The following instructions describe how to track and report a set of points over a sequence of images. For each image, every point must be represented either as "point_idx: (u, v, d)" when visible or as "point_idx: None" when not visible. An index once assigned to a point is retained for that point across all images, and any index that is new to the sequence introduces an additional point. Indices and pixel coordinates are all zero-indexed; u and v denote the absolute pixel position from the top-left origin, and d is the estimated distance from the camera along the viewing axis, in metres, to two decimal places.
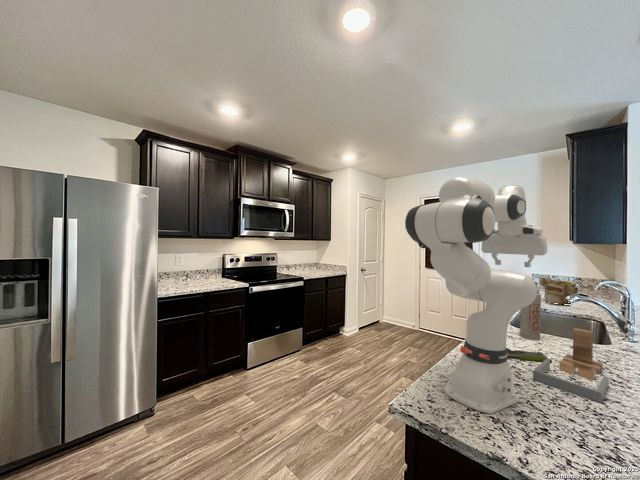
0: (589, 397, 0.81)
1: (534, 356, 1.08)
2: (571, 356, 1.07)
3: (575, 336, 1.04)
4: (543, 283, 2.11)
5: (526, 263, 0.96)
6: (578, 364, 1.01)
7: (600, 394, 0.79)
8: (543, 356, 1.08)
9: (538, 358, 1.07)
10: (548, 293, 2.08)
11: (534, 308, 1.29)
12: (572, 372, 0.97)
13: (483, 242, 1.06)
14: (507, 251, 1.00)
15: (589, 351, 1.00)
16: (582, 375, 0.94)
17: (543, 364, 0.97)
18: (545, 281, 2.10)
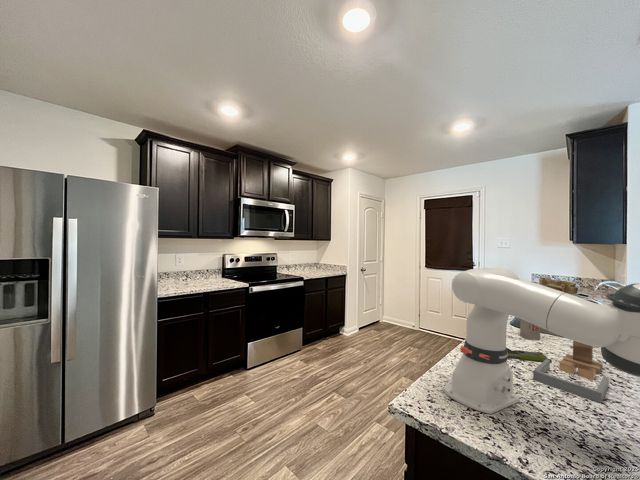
0: (589, 397, 0.81)
1: (534, 356, 1.08)
2: (571, 356, 1.07)
3: None
4: (543, 283, 2.11)
5: None
6: (578, 364, 1.01)
7: (600, 394, 0.79)
8: (543, 356, 1.09)
9: (538, 358, 1.07)
10: None
11: None
12: (572, 372, 0.97)
13: None
14: None
15: (589, 351, 1.00)
16: (582, 375, 0.95)
17: (543, 364, 0.97)
18: (545, 281, 2.10)
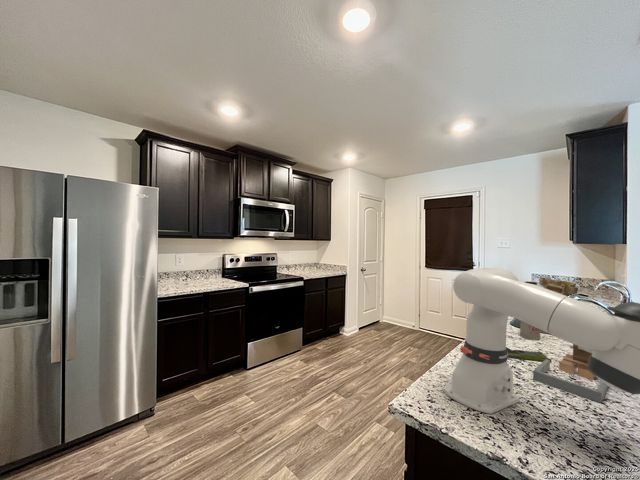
0: (589, 397, 0.81)
1: (534, 355, 1.09)
2: (571, 356, 1.07)
3: None
4: (543, 283, 2.11)
5: None
6: (578, 364, 1.01)
7: (600, 394, 0.79)
8: (543, 355, 1.09)
9: (538, 357, 1.07)
10: None
11: None
12: (571, 372, 0.97)
13: None
14: None
15: None
16: (582, 375, 0.95)
17: (543, 364, 0.97)
18: (545, 281, 2.10)
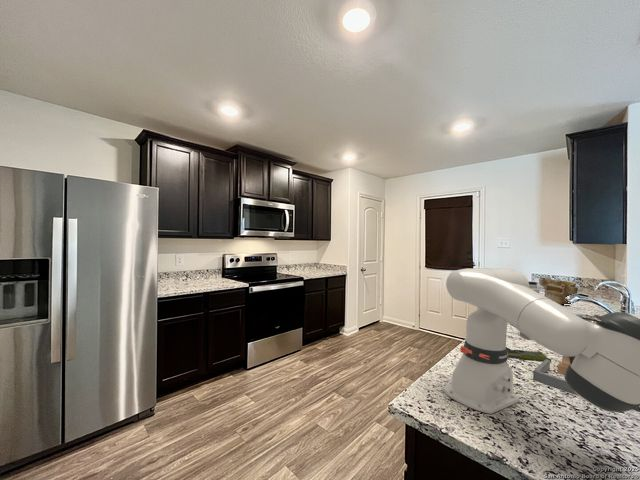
0: None
1: (534, 355, 1.09)
2: None
3: None
4: (543, 283, 2.11)
5: None
6: None
7: None
8: (543, 355, 1.09)
9: (538, 357, 1.07)
10: (548, 293, 2.08)
11: None
12: None
13: None
14: None
15: None
16: None
17: (543, 364, 0.97)
18: (545, 281, 2.10)
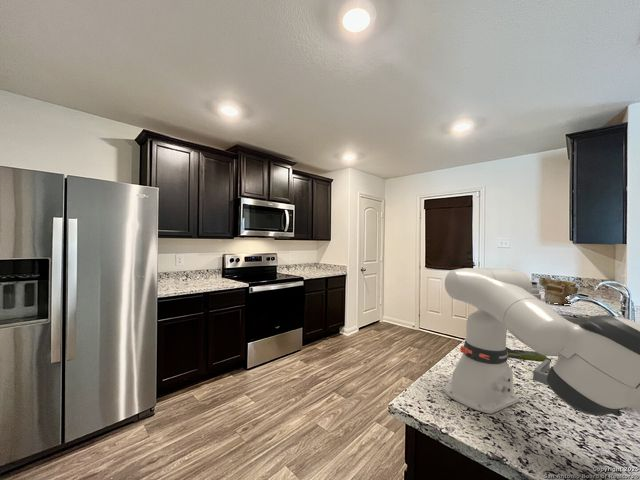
0: None
1: (534, 355, 1.09)
2: None
3: None
4: (543, 283, 2.11)
5: None
6: None
7: None
8: (542, 355, 1.09)
9: (538, 357, 1.07)
10: (548, 293, 2.08)
11: None
12: None
13: None
14: None
15: None
16: None
17: (543, 364, 0.97)
18: (545, 281, 2.10)
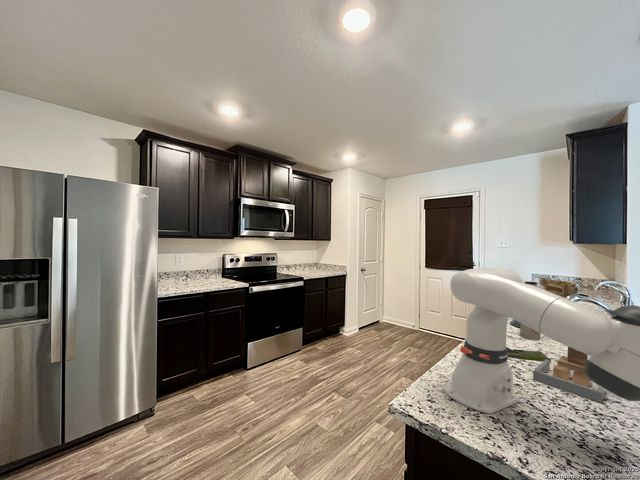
0: (589, 397, 0.81)
1: (533, 355, 1.09)
2: (566, 358, 1.05)
3: None
4: (543, 283, 2.11)
5: None
6: (573, 366, 0.99)
7: (600, 394, 0.79)
8: (542, 355, 1.10)
9: (537, 357, 1.08)
10: None
11: None
12: (566, 378, 0.92)
13: None
14: None
15: (584, 353, 0.99)
16: (577, 382, 0.90)
17: (543, 364, 0.97)
18: (545, 281, 2.10)
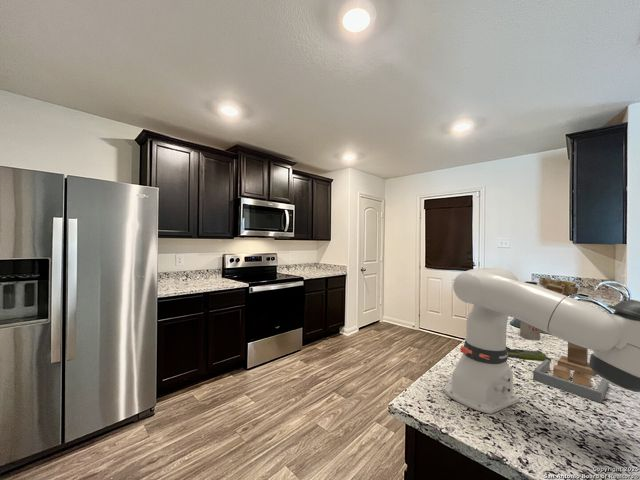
0: (589, 397, 0.81)
1: (533, 355, 1.10)
2: (566, 358, 1.05)
3: None
4: (543, 283, 2.11)
5: None
6: (573, 366, 0.99)
7: (600, 394, 0.79)
8: (542, 355, 1.10)
9: (537, 356, 1.08)
10: None
11: None
12: (566, 378, 0.92)
13: None
14: None
15: (584, 353, 0.99)
16: (577, 382, 0.90)
17: (543, 364, 0.97)
18: (545, 281, 2.10)
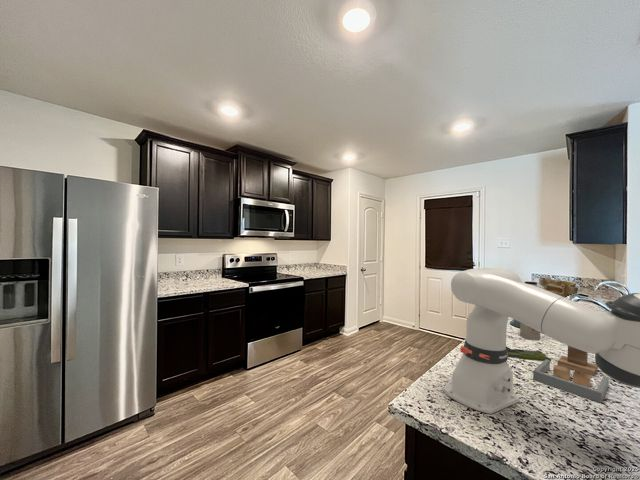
0: (589, 397, 0.81)
1: (533, 354, 1.10)
2: (566, 358, 1.05)
3: None
4: (543, 283, 2.11)
5: None
6: (573, 366, 0.99)
7: (600, 394, 0.79)
8: (542, 354, 1.10)
9: (537, 356, 1.08)
10: None
11: None
12: (566, 378, 0.92)
13: None
14: None
15: (584, 353, 0.99)
16: (577, 382, 0.90)
17: (543, 364, 0.97)
18: (545, 281, 2.10)
